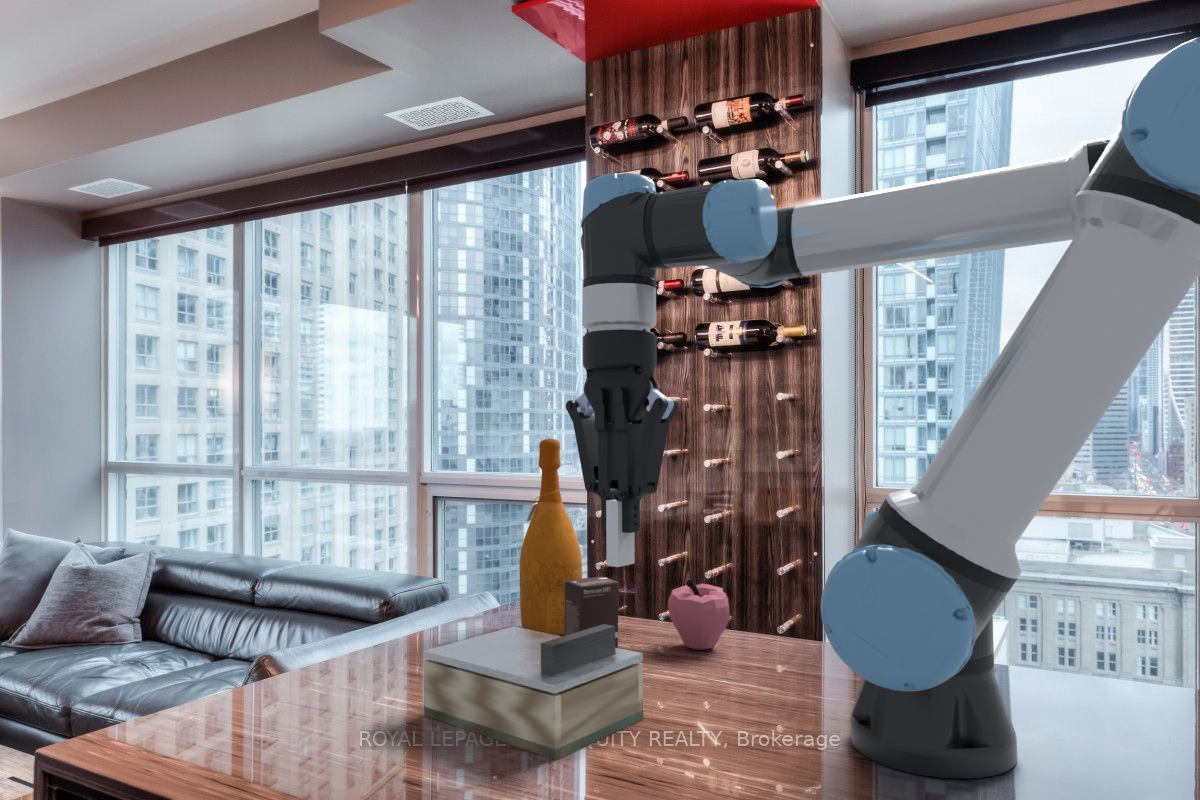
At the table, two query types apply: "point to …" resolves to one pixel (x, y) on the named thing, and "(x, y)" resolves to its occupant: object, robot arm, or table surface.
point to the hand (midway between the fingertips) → (620, 564)
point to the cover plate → (539, 656)
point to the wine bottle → (548, 551)
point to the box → (591, 604)
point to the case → (534, 708)
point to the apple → (699, 614)
